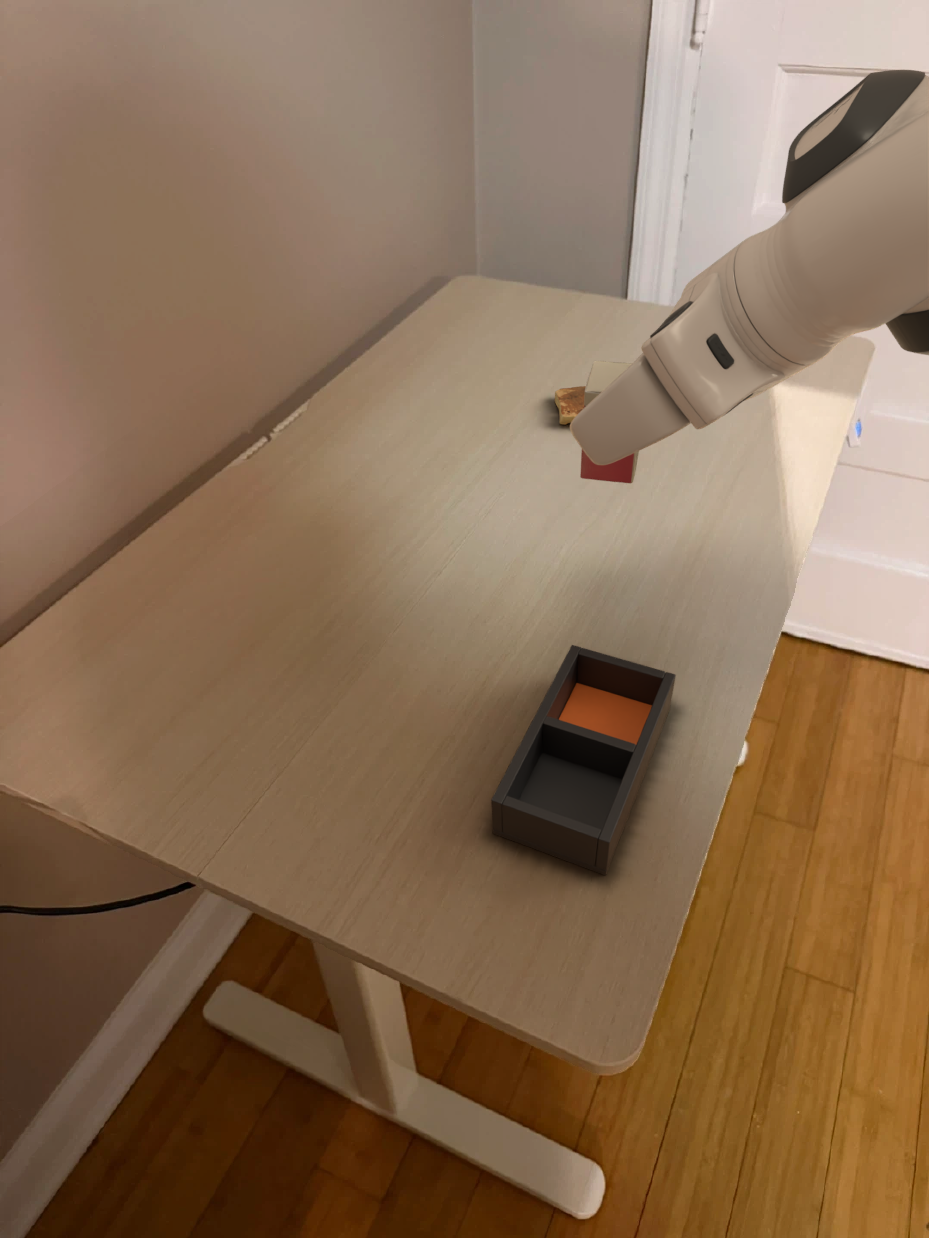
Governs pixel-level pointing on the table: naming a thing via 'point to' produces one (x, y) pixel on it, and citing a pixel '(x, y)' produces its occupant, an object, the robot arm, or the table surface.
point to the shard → (569, 403)
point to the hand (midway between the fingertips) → (606, 415)
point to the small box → (596, 383)
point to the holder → (583, 758)
